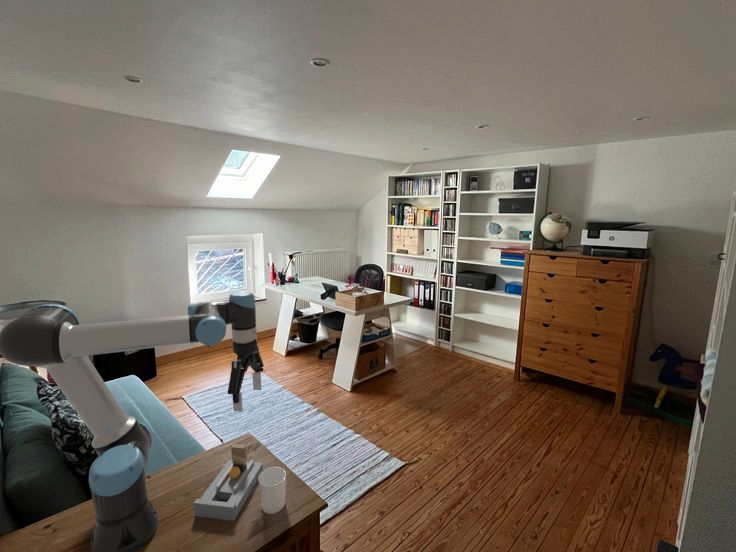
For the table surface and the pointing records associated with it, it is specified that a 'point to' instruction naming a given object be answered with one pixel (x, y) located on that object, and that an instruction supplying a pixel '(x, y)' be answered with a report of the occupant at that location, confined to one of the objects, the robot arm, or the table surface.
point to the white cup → (272, 489)
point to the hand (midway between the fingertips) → (248, 399)
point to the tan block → (239, 456)
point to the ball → (234, 472)
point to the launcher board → (228, 492)
